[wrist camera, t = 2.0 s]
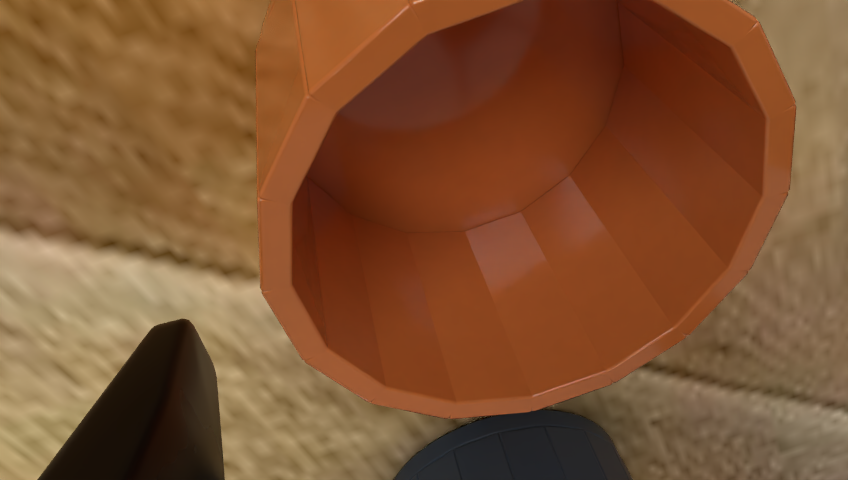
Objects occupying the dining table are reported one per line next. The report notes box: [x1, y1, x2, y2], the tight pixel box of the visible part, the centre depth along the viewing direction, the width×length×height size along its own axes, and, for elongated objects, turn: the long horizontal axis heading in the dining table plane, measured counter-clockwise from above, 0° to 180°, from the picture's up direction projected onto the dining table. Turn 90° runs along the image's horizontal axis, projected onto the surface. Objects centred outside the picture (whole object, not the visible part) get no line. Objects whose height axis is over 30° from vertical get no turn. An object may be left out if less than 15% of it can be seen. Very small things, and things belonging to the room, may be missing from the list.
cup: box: [256, 0, 796, 419], centre depth 11 cm, size 7×7×5 cm
